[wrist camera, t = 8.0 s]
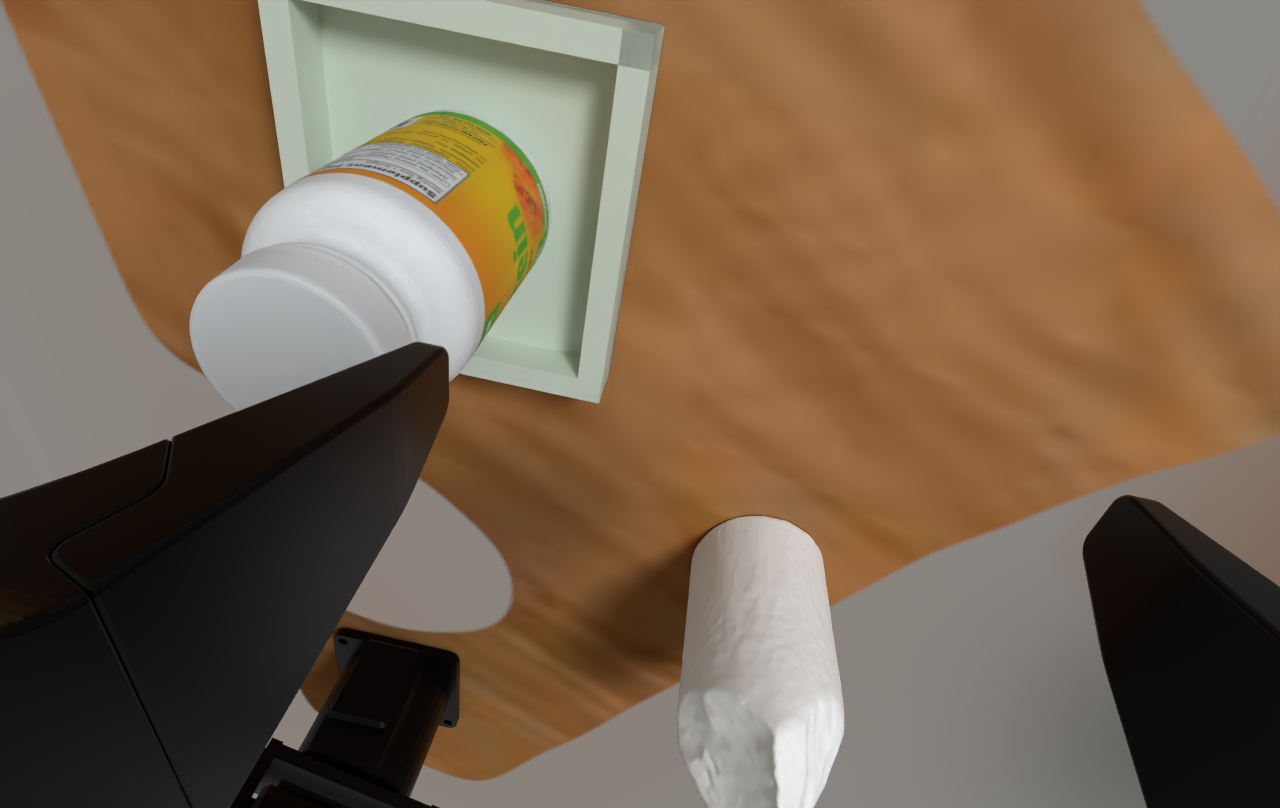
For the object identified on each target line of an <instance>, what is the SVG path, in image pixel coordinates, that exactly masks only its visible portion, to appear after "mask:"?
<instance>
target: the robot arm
mask: <svg viewBox="0 0 1280 808" xmlns="http://www.w3.org/2000/svg"><path fill="white" fill-rule="evenodd" d="M448 403H449V355H448V352H447V350H446V349H445V348H444V347H442V346H437V345H433V344H428V343H424V342H413V343H410V344H408V345H405V346H403V347H400V348H398V349H395V350H393V351H390V352H388V353H385V354H382V355H380V356H377V357H375V358H372V359H370V360H367V361H365V362H362V363H359V364H357V365H354V366H352V367H349V368H347V369H344V370H342V371H339V372H337V373H334V374H331V375H329V376H326V377H324V378H321V379H319V380H316V381H314V382H311V383H309V384H306V385H303V386H301V387H298V388H296V389H293V390H291V391H288V392H286V393H283V394H280V395H278V396H275V397H273V398H270V399H268V400H265V401H263V402H260V403H257V404H255V405H252V406H250V407H247V408H245V409H242V410H240V411H237V412H235V413H232V414H229V415H227V416H224V417H222V418H219V419H217V420H214V421H211V422H209V423H206V424H204V425H201V426H199V427H196V428H194V429H191V430H188V431H186V432H184V433H181V434H178V435H176V436H174V437H173V438H172V441H170V440H163V441H160V442H158V443H155V444H153V445H150V446H148V447H145V448H142V449H140V450H137V451H135V452H132V453H129V454H127V455H124V456H121V457H119V458H116V459H113V460H111V461H108V462H105V463H103V464H100V465H97V466H95V467H92V468H89V469H86V470H84V471H81V472H78V473H75V474H72V475H69V476H67V477H63V478H60V479H57V480H54V481H51V482H49V483H46V484H43V485H40V486H37V487H34V488H31V489H28V490H25V491H22V492H19V493H16V494H12V495H9V496H7V497H3V498H0V808H439V807H437V806H434V805H432V806H429V805H426V804H423V803H421V802H419V801H417V800H414V799H412V798H410V796H411V793H412V791H413V788H414V786H415V783H416V781H417V778H418V776H419V773H420V770H421V768H422V766H423V763H424V761H425V758H426V756H427V753H428V751H429V748H430V746H431V743H432V741H433V738H434V736H435V733H436V731H437V728H438V726H439V725H440V726H445V727H450V728H452V727H455V726H456V725H457V722H458V719H459V680H460V660H459V658H458V657H457V656H456V655H455V654H452V653H449V652H444V651H440V650H435V649H431V648H427V647H422V646H418V645H413V644H409V643H405V642H400V641H396V640H391V639H387V638H382V637H378V636H374V635H369V634H365V633H360V632H356V631H352V630H347V629H340V630H339V631H338V632H337V633H336V635H335V637H334V644H335V650H336V656H337V662H338V668H339V674H340V677H339V678H338V680H337V682H336V684H335V686H334V687H333V689H332V691H331V693H330V695H329V696H328V698H327V700H326V702H325V703H324V705H323V707H322V709H321V711H320V712H319V714H318V716H317V718H316V720H315V721H314V723H313V725H312V727H311V729H310V730H309V732H308V734H307V736H306V738H305V740H304V741H303V743H302V745H301V747H300V748H299V750H298V751H297V750H295V749H292V748H290V747H287V746H285V745H283V742H282V741H279V740H277V739H275V738H272V739H271V741H270V743H269V744H268V746H267V747H266V745H267V743H268V742H269V740H270V738H271V736H272V735H273V733H274V731H275V729H276V728H277V726H278V724H279V723H280V721H281V719H282V718H283V716H284V714H285V712H286V711H287V709H288V707H289V706H290V704H291V702H292V700H293V699H294V697H295V695H296V693H297V692H298V690H299V689H300V687H301V685H302V683H303V682H304V680H305V678H306V677H307V675H308V673H309V671H310V670H311V668H312V666H313V665H314V663H315V661H316V660H317V658H318V656H319V654H320V653H321V651H322V649H323V648H324V646H325V644H326V642H327V641H328V639H329V637H330V636H331V634H332V632H333V630H334V629H335V627H336V625H337V624H338V622H339V620H340V619H341V617H342V615H343V613H344V612H345V610H346V608H347V607H348V605H349V603H350V601H351V600H352V598H353V596H354V595H355V593H356V591H357V589H358V588H359V586H360V584H361V583H362V581H363V579H364V578H365V576H366V574H367V572H368V571H369V569H370V567H371V565H372V564H373V562H374V560H375V559H376V557H377V555H378V553H379V552H380V550H381V548H382V547H383V545H384V543H385V542H386V540H387V538H388V536H389V535H390V533H391V531H392V529H393V528H394V526H395V525H396V522H397V521H398V519H399V518H400V516H401V514H402V512H403V510H404V508H405V506H406V505H407V503H408V500H409V498H410V496H411V494H412V492H413V490H414V487H415V485H416V483H417V480H418V478H419V476H420V473H421V471H422V469H423V466H424V464H425V462H426V459H427V457H428V455H429V452H430V450H431V447H432V445H433V443H434V440H435V438H436V436H437V433H438V431H439V429H440V426H441V424H442V422H443V419H444V417H445V415H446V412H447V408H448ZM1083 560H1084V565H1085V570H1086V576H1087V581H1088V587H1089V591H1090V597H1091V602H1092V608H1093V614H1094V619H1095V624H1096V630H1097V635H1098V640H1099V645H1100V650H1101V654H1102V659H1103V663H1104V667H1105V670H1106V674H1107V677H1108V681H1109V684H1110V688H1111V691H1112V694H1113V697H1114V701H1115V704H1116V707H1117V711H1118V714H1119V717H1120V721H1121V723H1122V727H1123V731H1124V734H1125V737H1126V740H1127V744H1128V747H1129V750H1130V754H1131V757H1132V760H1133V764H1134V767H1135V770H1136V773H1137V777H1138V780H1139V783H1140V787H1141V790H1142V793H1143V797H1144V800H1145V803H1146V807H1147V808H1280V587H1279V586H1278V585H1276V584H1275V583H1274V582H1272V581H1271V580H1269V579H1268V578H1266V577H1265V576H1264V575H1262V574H1261V573H1259V572H1258V571H1257V570H1255V569H1254V568H1252V567H1251V566H1249V565H1248V564H1247V563H1245V562H1244V561H1242V560H1241V559H1240V558H1238V557H1237V556H1235V555H1234V554H1232V553H1231V552H1230V551H1228V550H1227V549H1225V548H1224V547H1223V546H1221V545H1220V544H1218V543H1217V542H1215V541H1214V540H1213V539H1211V538H1210V537H1208V536H1207V535H1205V534H1204V533H1202V532H1201V531H1200V530H1198V529H1197V528H1196V527H1194V526H1193V525H1191V524H1190V523H1188V522H1187V521H1186V520H1184V519H1183V518H1181V517H1180V516H1178V515H1177V514H1176V513H1174V512H1173V511H1171V510H1170V509H1169V508H1167V507H1166V506H1164V505H1163V504H1161V503H1160V502H1157V501H1154V500H1150V499H1145V498H1140V497H1136V496H1131V495H1125V496H1121V497H1119V498H1117V499H1116V500H1115V501H1114V502H1113V503H1112V504H1111V506H1110V507H1109V508H1108V510H1107V511H1106V512H1105V513H1104V515H1103V516H1102V517H1101V518H1100V520H1099V521H1098V522H1097V524H1096V525H1095V526H1094V527H1093V529H1092V530H1091V531H1090V533H1089V534H1088V535H1087V537H1086V539H1085V541H1084V545H1083ZM265 747H266V748H265ZM254 793H256V794H259V795H258V797H257V798H256V799H254V798H252V795H253V794H254Z"/></svg>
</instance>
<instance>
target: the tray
mask: <svg viewBox="0 0 1280 808" xmlns="http://www.w3.org/2000/svg"><path fill="white" fill-rule="evenodd" d="M258 6H259V13H260V20H261V27H262V34H263V41H264V48H265V55H266V62H267V69H268V76H269V83H270V90H271V97H272V103H273V110H274V117H275V124H276V131H277V138H278V145H279V152H280V159H281V166H282V173H283V180H284V187H285V188H286V187H287V186H289V185H290V184H292V183H293V182H295V181H297V180H299V179H300V178H302V177H304V176H306V175H308V174H310V173H311V172H313V171H315V170H317V169H319V168H321V167H323V166H325V165H326V164H328V163H330V162H332V161H334V160H336V159H337V158H339V157H341V156H342V155H344V154H345V153H348V152H350V151H351V150H353V149H355V148H357V147H359V146H361V145H362V144H364V143H366V142H368V141H369V140H371V139H373V138H375V137H377V136H378V135H380V134H382V133H384V132H385V131H387V130H389V129H391V128H392V127H394V126H396V125H398V124H400V123H401V122H403V121H405V120H408V119H410V118H412V117H415V116H417V115H419V114H422V113H426V112H430V111H435V110H448V109H451V110H461V111H467V112H470V113H474V114H477V115H480V116H482V117H485V118H487V119H489V120H491V121H493V122H494V123H496V124H498V125H499V126H501V127H503V128H504V129H506V130H507V131H508V132H510V133H511V134H512V135H513V136H514V137H516V138H517V139H518V140H519V141H520V142H521V143H522V144H523V146H524V147H525V148H526V149H527V150H528V151H529V153H530V154H531V156H532V157H533V159H534V160H535V162H536V163H537V165H538V167H539V169H540V171H541V173H542V175H543V178H544V180H545V183H546V186H547V189H548V193H549V198H550V207H551V223H550V230H549V234H548V238H547V241H546V244H545V246H544V248H543V250H542V252H541V254H540V256H539V258H538V259H537V261H536V263H535V264H534V266H533V267H532V269H531V270H530V272H529V273H528V274H527V276H526V277H525V279H524V280H523V282H522V283H521V285H520V286H519V288H518V289H517V291H516V292H515V293H514V295H513V296H512V298H511V299H510V301H509V302H508V304H507V305H506V307H505V308H504V310H503V311H502V313H501V314H500V315H499V317H498V318H497V320H496V321H495V323H494V324H493V326H492V327H491V329H490V330H489V332H488V333H487V335H486V336H485V338H484V339H483V341H482V342H481V344H480V346H479V347H478V348H477V350H476V352H475V353H474V355H473V356H472V357H471V359H470V360H469V361H468V363H467V364H466V366H465V367H464V368H463V369H462V371H461V372H460V373H459V374H464V375H469V376H473V377H478V378H482V379H487V380H492V381H496V382H501V383H506V384H510V385H515V386H519V387H524V388H529V389H533V390H538V391H543V392H547V393H552V394H556V395H561V396H566V397H570V398H575V399H580V400H584V401H589V402H593V403H598V404H599V401H600V398H601V395H602V392H603V389H604V386H605V383H606V380H607V377H608V375H609V371H610V365H611V359H612V353H613V346H614V340H615V334H616V328H617V322H618V315H619V309H620V303H621V297H622V290H623V284H624V278H625V272H626V265H627V259H628V253H629V247H630V240H631V234H632V228H633V222H634V216H635V209H636V203H637V197H638V191H639V184H640V178H641V172H642V166H643V159H644V153H645V147H646V141H647V134H648V128H649V122H650V116H651V110H652V103H653V97H654V91H655V85H656V78H657V72H658V66H659V60H660V53H661V47H662V41H663V35H664V28H665V25H663V24H658V23H653V22H648V21H643V20H638V19H633V18H628V17H623V16H618V15H613V14H608V13H603V12H598V11H593V10H588V9H584V8H579V7H574V6H569V5H564V4H559V3H554V2H549V1H544V0H258Z"/></svg>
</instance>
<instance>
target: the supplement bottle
mask: <svg viewBox="0 0 1280 808" xmlns="http://www.w3.org/2000/svg"><path fill="white" fill-rule="evenodd" d="M550 223H551V207H550V198H549V193H548V189H547V186H546V183H545V180H544V178H543V175H542V173H541V171H540V169H539V167H538V165H537V163H536V162H535V160H534V159H533V157H532V156H531V154H530V153H529V151H528V150H527V149H526V148H525V147H524V146H523V144H522V143H521V142H520V141H519V140H518V139H517V138H516V137H514V136H513V135H512V134H511V133H510V132H508V131H507V130H506V129H504V128H503V127H501V126H499V125H498V124H496V123H494V122H493V121H491V120H489V119H487V118H485V117H482V116H480V115H477V114H474V113H470V112H467V111H461V110H451V109H448V110H435V111H430V112H426V113H422V114H419V115H417V116H415V117H412V118H410V119H408V120H405V121H403V122H401V123H400V124H398V125H396V126H394V127H392V128H391V129H389V130H387V131H385V132H384V133H382V134H380V135H378V136H377V137H375V138H373V139H371V140H369V141H368V142H366V143H364V144H362V145H361V146H359V147H357V148H355V149H353V150H351V151H350V152H348V153H345V154H344V155H342V156H341V157H339V158H337V159H336V160H334V161H332V162H330V163H328V164H326V165H325V166H323V167H321V168H319V169H317V170H315V171H313V172H311V173H310V174H308V175H306V176H304V177H302V178H300V179H299V180H297V181H295V182H293V183H292V184H290V185H289V186H287V187H286V188H284V189H283V190H282V191H280V192H279V193H277V194H276V195H275V196H273V197H272V198H271V199H270V200H268V201H267V202H266V203H265V204H264V205H263V207H262V208H261V209H260V210H259V211H258V212H257V214H256V215H255V217H254V218H253V220H252V222H251V224H250V226H249V228H248V230H247V233H246V236H245V239H244V242H243V247H242V253H241V259H239V260H238V261H237V262H236V263H235V264H233V265H232V266H230V267H229V268H228V269H226V270H225V271H223V272H222V273H221V274H219V275H218V276H217V277H215V278H214V279H213V280H211V281H210V282H209V283H207V284H206V286H205V287H204V288H203V289H202V290H201V292H200V293H199V295H198V296H197V298H196V300H195V302H194V305H193V307H192V310H191V316H190V337H191V342H192V347H193V351H194V353H195V356H196V358H197V361H198V363H199V365H200V367H201V369H202V371H203V373H204V374H205V376H206V378H207V379H208V381H209V382H210V383H211V385H212V386H213V387H214V388H215V390H216V391H217V392H218V394H219V395H220V396H221V397H222V398H223V399H224V400H225V401H226V402H227V403H228V404H229V405H230V406H231V407H232V408H233V409H234V410H236V411H240V410H242V409H245V408H247V407H250V406H252V405H255V404H257V403H260V402H263V401H265V400H268V399H270V398H273V397H275V396H278V395H280V394H283V393H286V392H288V391H291V390H293V389H296V388H298V387H301V386H303V385H306V384H309V383H311V382H314V381H316V380H319V379H321V378H324V377H326V376H329V375H331V374H334V373H337V372H339V371H342V370H344V369H347V368H349V367H352V366H354V365H357V364H359V363H362V362H365V361H367V360H370V359H372V358H375V357H377V356H380V355H382V354H385V353H388V352H390V351H393V350H395V349H398V348H400V347H403V346H405V345H408V344H410V343H413V342H424V343H428V344H433V345H437V346H442V347H444V348H445V349H446V350H447V352H448V355H449V382H450V381H452V380H453V379H454V378H455V377H456V376H457V375H458V374H459V373H460V372H461V371H462V369H463V368H464V367H465V366H466V364H467V363H468V361H469V360H470V359H471V357H472V356H473V355H474V353H475V352H476V350H477V348H478V347H479V346H480V344H481V342H482V341H483V339H484V338H485V336H486V335H487V333H488V332H489V330H490V329H491V327H492V326H493V324H494V323H495V321H496V320H497V318H498V317H499V315H500V314H501V313H502V311H503V310H504V308H505V307H506V305H507V304H508V302H509V301H510V299H511V298H512V296H513V295H514V293H515V292H516V291H517V289H518V288H519V286H520V285H521V283H522V282H523V280H524V279H525V277H526V276H527V274H528V273H529V272H530V270H531V269H532V267H533V266H534V264H535V263H536V261H537V259H538V258H539V256H540V254H541V252H542V250H543V248H544V246H545V244H546V241H547V238H548V234H549V230H550Z"/></svg>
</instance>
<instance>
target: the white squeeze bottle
mask: <svg viewBox="0 0 1280 808" xmlns="http://www.w3.org/2000/svg"><path fill="white" fill-rule="evenodd" d="M843 733H844V708H843V698H842V690H841V683H840V676H839V670H838V664H837V658H836V650H835V644H834V637H833V632H832V623H831V614H830V608H829V601H828V594H827V587H826V581H825V572H824V564H823V558H822V555H821V552H820V550H819V548H818V546H817V545H816V544H815V542H814V540H813V539H812V538H811V537H810V536H809V535H808V534H807V533H805V532H804V531H803V530H801V529H800V528H798V527H796V526H795V525H793V524H791V523H790V522H788V521H785V520H780V519H776V518H771V517H766V516H744V517H739V518H738V517H737V518H734V519H731V520H728V521H726V522H725V523H722V524H720V525H718V526H717V527H715V528H713V529H712V530H711V531H710V532H709V533H708V534H707V535H705V537H704V538H703V539H702V540H701V541H700V543H699V544H698V545H697V547H696V549H695V551H694V554H693V557H692V563H691V574H690V585H689V596H688V606H687V616H686V628H685V636H684V647H683V657H682V672H681V680H680V690H679V701H678V715H677V738H678V747H679V753H680V755H681V757H682V759H683V762H684V764H685V765H686V767H687V769H688V771H689V773H690V776H691V778H692V780H693V782H694V785H695V788H696V790H697V792H698V794H699V796H700V798H701V800H702V802H703V804H704V805H705V807H706V808H813V807H814V805H815V803H816V802H817V800H818V798H819V796H820V794H821V792H822V791H823V789H824V787H825V785H826V782H827V778H828V775H829V772H830V770H831V767H832V764H833V762H834V760H835V757H836V755H837V752H838V749H839V746H840V743H841V740H842V738H843Z"/></svg>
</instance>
